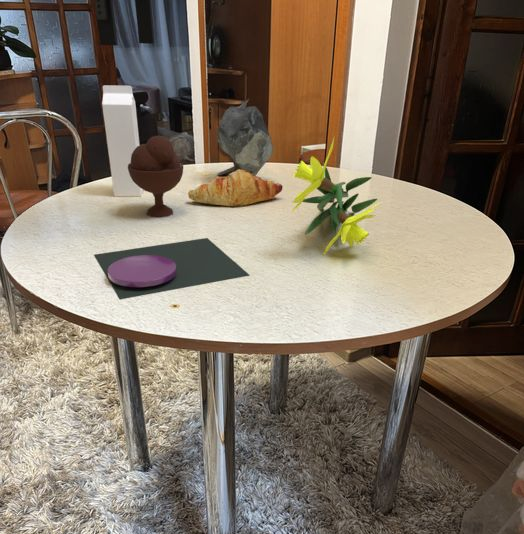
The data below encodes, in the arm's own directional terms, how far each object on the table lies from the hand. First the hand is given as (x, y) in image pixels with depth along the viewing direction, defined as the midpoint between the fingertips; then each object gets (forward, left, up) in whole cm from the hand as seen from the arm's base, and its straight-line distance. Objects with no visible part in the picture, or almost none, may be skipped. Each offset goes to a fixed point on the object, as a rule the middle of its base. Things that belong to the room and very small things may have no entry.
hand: (129, 44), depth 86 cm
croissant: (-5, +21, -30) cm, 37 cm away
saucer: (+28, -9, -29) cm, 42 cm away
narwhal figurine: (-20, +30, -30) cm, 47 cm away
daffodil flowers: (+22, +28, -30) cm, 47 cm away
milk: (-20, +1, -30) cm, 36 cm away
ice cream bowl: (-3, +3, -30) cm, 30 cm away
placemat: (+25, -4, -30) cm, 39 cm away
